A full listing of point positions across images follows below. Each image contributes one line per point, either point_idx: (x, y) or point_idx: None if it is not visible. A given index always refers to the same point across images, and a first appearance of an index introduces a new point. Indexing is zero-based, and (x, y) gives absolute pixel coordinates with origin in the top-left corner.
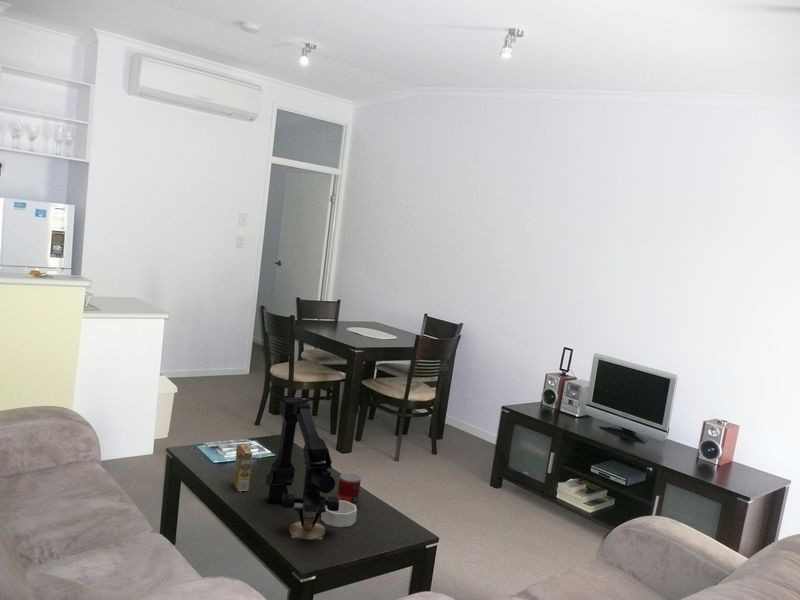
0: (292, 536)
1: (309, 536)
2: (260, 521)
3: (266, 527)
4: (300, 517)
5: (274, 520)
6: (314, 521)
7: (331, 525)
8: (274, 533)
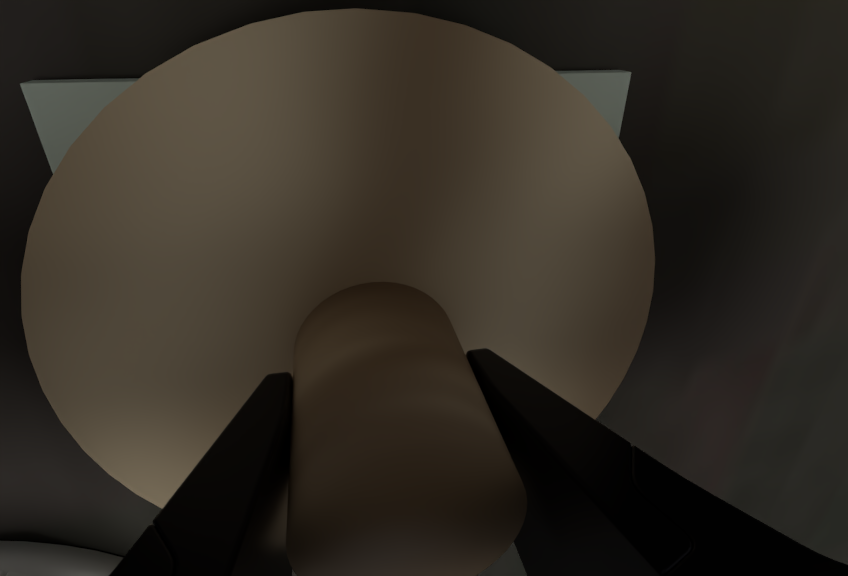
0: (614, 113)
1: (316, 52)
2: (838, 430)
3: (835, 333)
4: (637, 459)
5: (706, 481)
6: (249, 455)
7: (33, 560)
8: (808, 205)
